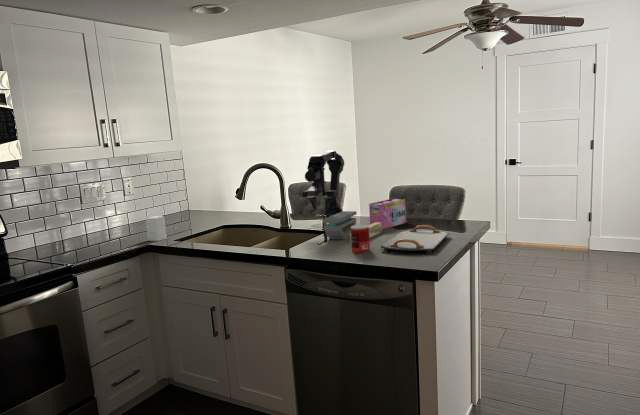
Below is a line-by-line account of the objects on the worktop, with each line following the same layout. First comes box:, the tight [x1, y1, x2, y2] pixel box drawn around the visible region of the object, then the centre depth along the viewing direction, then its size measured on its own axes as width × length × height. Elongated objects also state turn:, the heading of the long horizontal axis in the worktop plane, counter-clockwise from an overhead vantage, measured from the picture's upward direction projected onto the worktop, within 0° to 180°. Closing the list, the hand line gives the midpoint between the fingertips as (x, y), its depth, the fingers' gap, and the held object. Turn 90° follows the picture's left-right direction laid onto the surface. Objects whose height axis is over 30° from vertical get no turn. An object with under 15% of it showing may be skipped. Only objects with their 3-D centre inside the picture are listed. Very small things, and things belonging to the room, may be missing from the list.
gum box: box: [368, 197, 408, 230], centre depth 261 cm, size 24×8×14 cm, turn 134°
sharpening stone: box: [322, 210, 358, 240], centre depth 240 cm, size 25×8×11 cm, turn 155°
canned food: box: [351, 224, 371, 254], centre depth 206 cm, size 8×8×11 cm
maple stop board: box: [349, 222, 383, 245], centre depth 233 cm, size 3×30×5 cm, turn 150°
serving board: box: [380, 224, 450, 255], centre depth 213 cm, size 39×23×6 cm, turn 154°
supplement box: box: [144, 215, 167, 242], centre depth 265 cm, size 7×7×13 cm
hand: (320, 210), depth 244 cm, fingers open, 6 cm apart
